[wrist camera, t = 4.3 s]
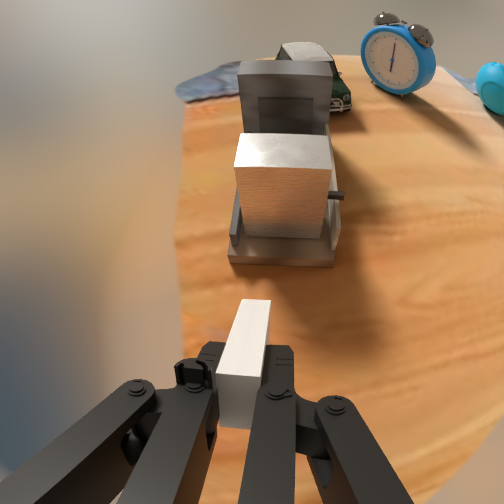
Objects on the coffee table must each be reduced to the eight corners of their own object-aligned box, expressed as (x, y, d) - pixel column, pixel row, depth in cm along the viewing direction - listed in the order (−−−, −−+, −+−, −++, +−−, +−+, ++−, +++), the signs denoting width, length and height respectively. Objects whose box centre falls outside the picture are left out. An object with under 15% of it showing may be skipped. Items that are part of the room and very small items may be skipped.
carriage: (335, 206, 30) (349, 137, 22) (338, 239, 28) (356, 171, 20) (249, 203, 31) (240, 133, 23) (245, 235, 29) (233, 166, 21)
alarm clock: (355, 77, 48) (363, 8, 35) (372, 71, 50) (381, 7, 37) (414, 108, 42) (432, 34, 30) (427, 100, 44) (445, 32, 31)
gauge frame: (323, 136, 39) (329, 62, 29) (334, 267, 29) (359, 184, 19) (249, 134, 40) (241, 60, 30) (229, 262, 30) (206, 179, 20)
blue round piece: (517, 133, 40) (536, 91, 30) (475, 112, 43) (492, 66, 33) (503, 106, 46) (518, 68, 36) (465, 87, 48) (477, 47, 38)
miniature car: (297, 124, 41) (298, 76, 34) (271, 73, 50) (269, 36, 43) (354, 119, 41) (361, 74, 34) (316, 70, 50) (317, 34, 43)
